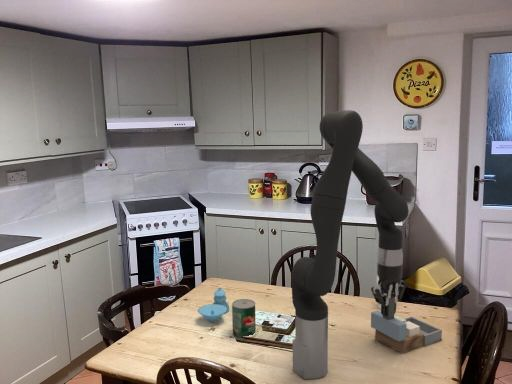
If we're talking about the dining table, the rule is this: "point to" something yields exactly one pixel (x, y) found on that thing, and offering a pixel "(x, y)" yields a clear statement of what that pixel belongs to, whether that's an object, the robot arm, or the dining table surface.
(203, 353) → the dining table surface
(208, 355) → the dining table surface
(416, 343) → the brown wooden block
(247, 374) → the dining table surface
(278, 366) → the dining table surface
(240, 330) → the canned tomato
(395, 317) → the tile
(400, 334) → the scraper
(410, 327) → the tile
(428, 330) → the box
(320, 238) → the robot arm
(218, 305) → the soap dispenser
